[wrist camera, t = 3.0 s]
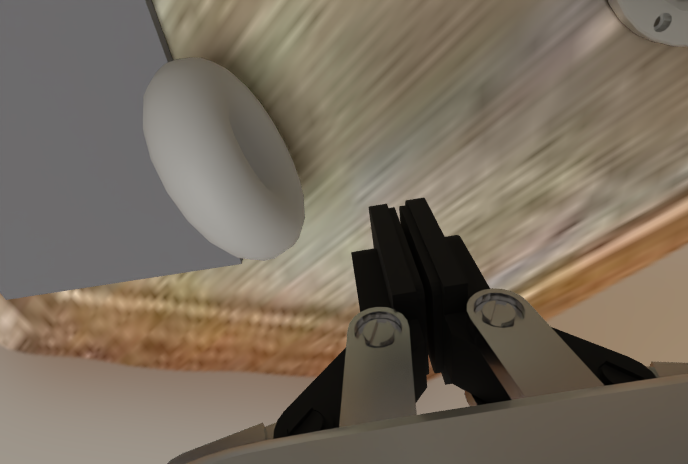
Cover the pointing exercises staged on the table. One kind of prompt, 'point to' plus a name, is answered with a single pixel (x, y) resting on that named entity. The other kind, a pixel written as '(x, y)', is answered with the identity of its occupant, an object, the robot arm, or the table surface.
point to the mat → (84, 151)
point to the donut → (222, 159)
